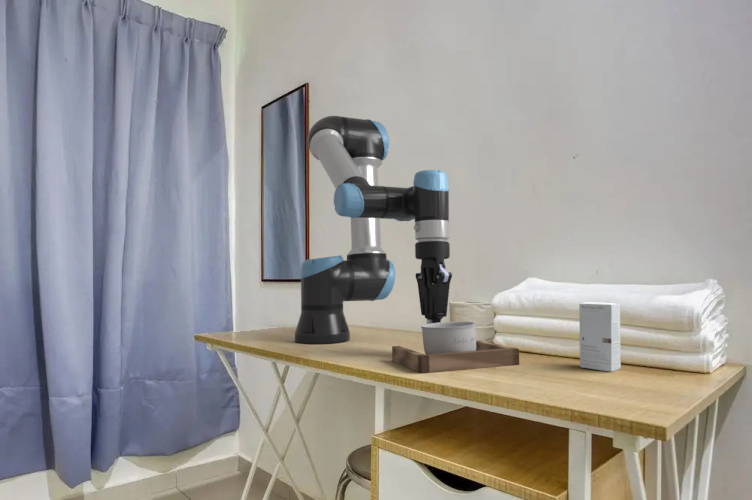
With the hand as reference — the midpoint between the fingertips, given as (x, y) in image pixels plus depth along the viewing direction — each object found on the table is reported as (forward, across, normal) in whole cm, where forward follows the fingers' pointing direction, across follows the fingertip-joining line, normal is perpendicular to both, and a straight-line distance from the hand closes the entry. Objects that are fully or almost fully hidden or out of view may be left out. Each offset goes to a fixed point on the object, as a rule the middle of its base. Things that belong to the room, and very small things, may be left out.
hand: (434, 349), depth 106 cm
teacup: (+2, +8, 0) cm, 8 cm away
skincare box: (+2, +25, +22) cm, 33 cm away
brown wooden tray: (+2, +8, 0) cm, 9 cm away
